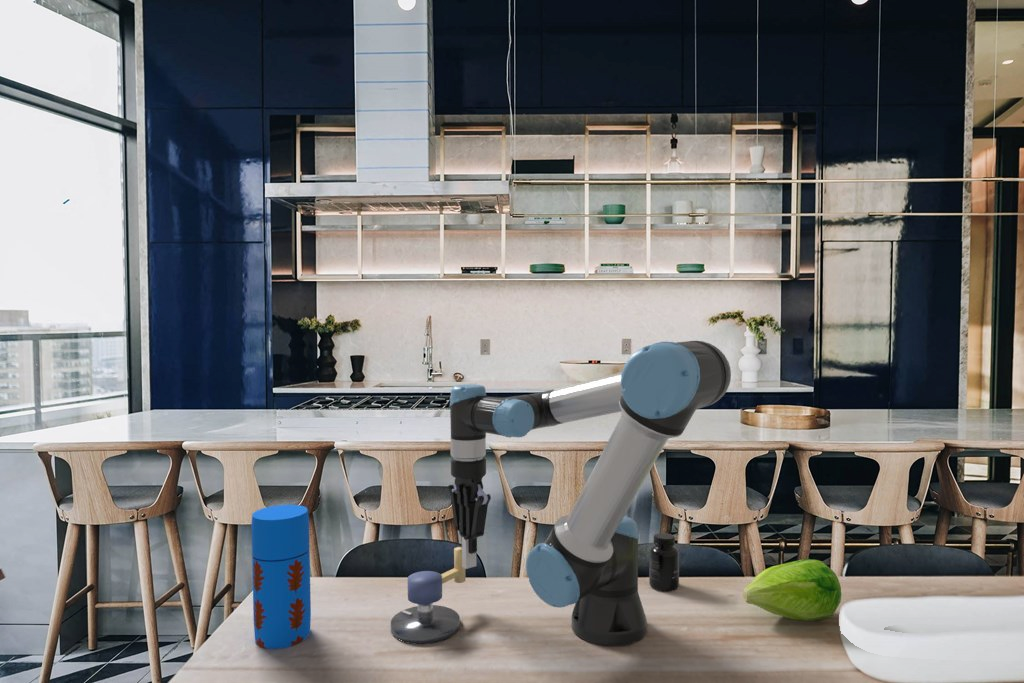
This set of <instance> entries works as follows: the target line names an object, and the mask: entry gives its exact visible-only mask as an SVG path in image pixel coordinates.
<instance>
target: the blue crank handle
mask: <svg viewBox="0 0 1024 683" xmlns="http://www.w3.org/2000/svg"><path fill="white" fill-rule="evenodd" d="M453 556H454V557H453V560H454V561H453V565H454V567H453V568H452V569H450V570H447V571H445V572H443V573H440V572H437V571H433V570H421V571H417V572H414V573H411V574H410V575H408V577H407V599H408V600H407V601H409V602H411V603H412V604H415V605H418V604H431V603H433V604H434V603H437V602H439V601H440V600H441V599H442V598H443V584H445V583H447V582H449V581H451V580H453V579H454V582H455V583H457V584H461V583H464V582H466V569H465V568H463V567H462V547H461V546H457V547H454V549H453Z"/></svg>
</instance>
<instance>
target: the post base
mask: <svg viewBox="0 0 1024 683" xmlns="http://www.w3.org/2000/svg"><path fill="white" fill-rule="evenodd" d="M460 618H461V617H460V614H459V613H458V612H457V611H456V610H455V609H452V608H450V607H447V606H444V605H443V606H442V605H437V604H434V603H431V604H417V605H415V606H411V607H409V608H406V609H403V610H400V611H399V612H397V613H396V614H394V616H393V617H392V619H391V620H390V633H391V635H392V634H393V635H392V636H393V637H394V636H395V637H396V638H397V639H396V638H395V637H394V638H395V639H396V640H398V639H400V640H402V641H401V642H403V641H404V643H406V642H409V643H408V644H411V643H418V644H417V645H426V644H425V643H429V644H435V643H439V642H443V641H445V640H447V639H449V638H451V637H453V636H454V635H456V634H457V633H456V632H458V631H459V630H460V626H461V622H460ZM458 629H459V630H458ZM455 633H456V634H455ZM400 640H399V641H400ZM420 643H421V644H420Z"/></svg>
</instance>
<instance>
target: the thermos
mask: <svg viewBox="0 0 1024 683" xmlns="http://www.w3.org/2000/svg"><path fill="white" fill-rule="evenodd" d="M310 549H311V548H310V516H309V510H308V508H307V507H306V506H303V505H299V504H279V505H272V506H268V507H267V506H266V507H264V508H260V509H258V510H256V511H254V512H253V513H252V515H251V557H252V558H251V561H252V562H251V565H252V569H251V570H252V602H253V603H252V604H253V606H252V610H253V628H254V630H253V631H254V641H255V642H254V643H255V644H256V645H257V646H258V647H261V648H264V649H270V650H271V649H272V650H276V649H277V650H278V649H285V648H290V647H294V646H296V645H298V644H301V643H302V642H304V641H303V640H304V639H305V640H307V638H309V636H310V634H311V623H312V622H311V620H312V619H311V617H312V613H311V612H312V610H311V609H312V607H311V603H312V601H311V599H312V598H311V558H310V557H311V555H310ZM308 635H309V636H308Z"/></svg>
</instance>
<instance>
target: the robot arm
mask: <svg viewBox="0 0 1024 683" xmlns="http://www.w3.org/2000/svg"><path fill="white" fill-rule="evenodd" d="M731 378H732V371H731V366H730V362H729V360H728V359H727V357H726V355H725V354H724V353H723V352H722V351H721V349H719V348H718V347H717V346H715V345H714V344H712V343H710V342H706V341H703V340H702V341H701V340H687V341H680V342H679V341H678V342H676V341H675V342H673V341H659V342H655V343H652V344H649V345H646V346H643V347H642V348H641V347H640V348H639V349H638V350H636V351H635V352H634V353H632V355H631V356H630V357H628V359H627V361H626V362H625V364H624V366H623V368H622V371H620V372H617V373H614V374H613V373H612V374H608V375H605V376H602V377H601V376H600V377H597V378H593V379H588V380H585V381H581V382H577V383H572V384H569V385H566V386H561V387H557V388H554V389H550V390H546V391H545V390H544V391H540V392H536V393H530V394H522V395H514V396H508V397H495V396H487V393H486V391H487V390H486V387H485V386H484V385H481V384H473V383H472V384H471V383H470V384H458V385H454V386H452V388H451V390H450V399H449V408H450V409H449V410H450V412H449V414H450V419H449V420H450V457H452V459H451V460H450V475H451V476H452V478H454V483H453V484H449V485H448V486H447V489H448V492H449V493H448V494H449V496H450V502H451V509H452V517H453V523H454V530H455V531H456V532H457V531H458V532H459V536H460V537H461V539H460V540H461V542H460V543H461V544H460V545H461V546H460V547H462V567H463V568H465V570H467V569H470V568H471V569H472V568H474V567H475V568H476V567H477V553H478V552H477V551H478V538H480V537H483V536H484V534H485V528H486V522H487V521H486V520H487V515H488V514H487V513H488V507H489V504H490V501H491V498H492V497H491V494H490V493H487V494H486V493H485V491H484V484H483V478H484V477H485V476H486V474H487V459H486V458H485V456H486V454H487V450H486V446H487V445H486V444H487V443H486V438H487V434H490V435H496V436H503V437H506V438H523V437H525V436H527V435H528V433H529V432H530V431H533V430H536V429H542V428H543V429H544V428H547V427H548V428H549V427H555V426H557V425H561V424H566V423H571V422H575V421H579V420H585V419H591V418H596V417H600V416H606V415H610V414H617V413H622V414H621V416H620V418H619V420H618V422H617V424H616V425H615V427H614V429H613V431H612V433H611V434H610V437H609V439H608V441H607V443H606V445H605V447H604V448H603V450H602V452H601V454H600V456H599V457H598V460H597V461H596V463H595V465H594V468H593V469H592V471H591V473H590V474H589V476H588V478H587V480H586V482H585V484H584V486H583V487H582V490H581V492H580V493H579V496H578V498H577V499H576V502H575V503H574V505H573V506H572V509H571V510H570V513H569V514H567V515H562V516H560V517H559V518H558V519H557V520H556V521H555V523H554V525H553V527H552V529H551V531H550V533H549V535H548V536H547V539H546V540H545V541H544V542H540V543H537V544H536V545H535V546H534V547H532V548H531V549H530V551H529V552H528V554H527V556H526V561H525V570H526V575H527V576H528V582H529V584H530V587H531V588H532V590H533V591H534V593H535V594H536V596H537V597H538V598H539V599H540V600H541V601H543V602H544V603H545V604H547V605H549V607H550V606H551V607H553V608H566V607H568V606H570V605H574V606H573V610H572V613H571V629H572V631H573V633H574V634H575V635H576V636H577V637H579V638H580V639H582V640H583V641H587V642H589V643H593V644H596V645H602V646H609V647H611V646H612V647H613V646H616V647H617V646H627V645H631V644H635V643H636V642H639V641H640V640H643V639H644V637H645V636H646V634H647V633H648V632H647V631H648V630H647V629H648V628H647V625H648V624H647V623H648V622H647V621H648V620H647V616H646V613H645V609H644V606H643V604H642V600H641V597H640V595H639V540H640V539H639V538H640V537H639V534H638V533H639V531H638V525H637V522H636V521H635V520H634V519H633V518H631V517H629V516H626V514H627V512H628V510H629V508H630V507H631V505H632V503H633V501H634V499H635V498H636V496H637V494H638V493H639V492H640V489H641V487H642V486H643V485H644V482H645V481H646V479H647V477H648V476H649V473H650V472H651V470H652V468H653V466H654V464H656V461H657V459H658V458H659V456H660V454H661V452H662V450H663V448H664V447H665V445H666V443H667V442H668V440H669V439H673V438H678V437H681V436H682V434H683V433H684V431H685V430H686V428H687V426H688V424H689V422H690V421H691V419H692V418H693V416H694V414H695V412H696V411H697V410H699V409H701V408H706V407H709V406H711V405H713V404H715V403H716V402H718V401H719V400H720V399H722V397H724V396H725V394H726V393H727V392H728V389H729V387H730V384H731V380H732V379H731Z"/></svg>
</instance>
